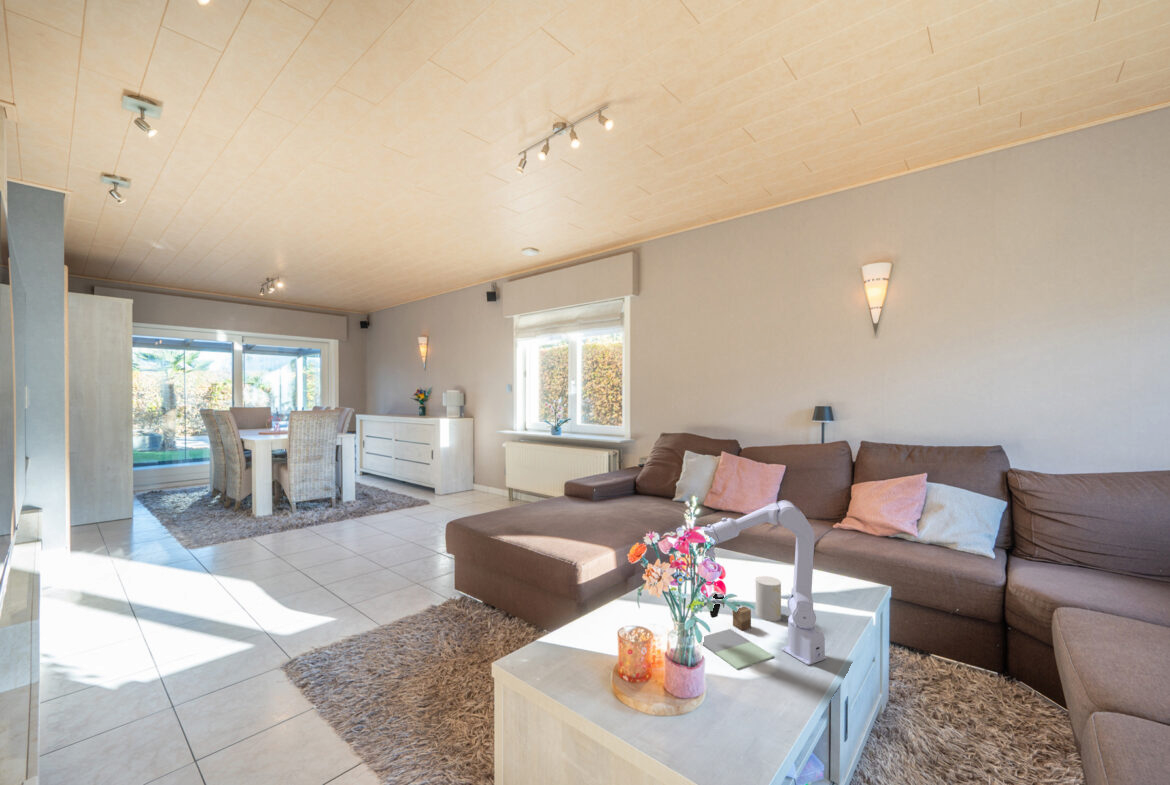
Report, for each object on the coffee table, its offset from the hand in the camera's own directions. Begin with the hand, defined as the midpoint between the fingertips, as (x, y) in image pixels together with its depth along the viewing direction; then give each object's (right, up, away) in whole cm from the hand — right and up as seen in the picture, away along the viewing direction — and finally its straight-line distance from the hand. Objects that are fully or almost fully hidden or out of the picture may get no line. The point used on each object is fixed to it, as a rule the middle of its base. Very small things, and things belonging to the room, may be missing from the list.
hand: (705, 611), depth 148 cm
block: (+14, -10, +10) cm, 20 cm away
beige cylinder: (+26, -10, +18) cm, 33 cm away
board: (+7, -9, -4) cm, 12 cm away
